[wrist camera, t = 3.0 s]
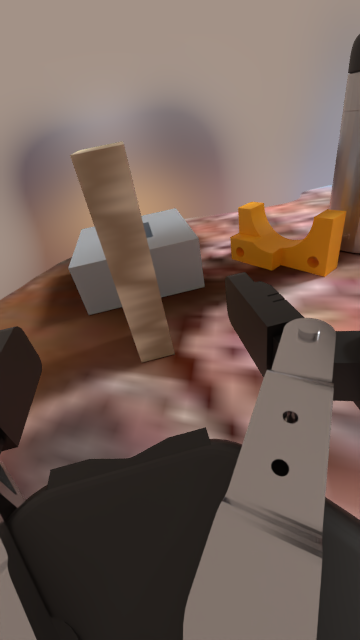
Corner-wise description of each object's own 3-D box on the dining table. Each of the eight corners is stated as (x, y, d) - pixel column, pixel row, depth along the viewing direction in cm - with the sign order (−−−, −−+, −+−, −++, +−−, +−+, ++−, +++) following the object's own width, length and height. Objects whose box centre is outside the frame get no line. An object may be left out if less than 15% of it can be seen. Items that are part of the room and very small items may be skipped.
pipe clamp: (231, 260, 38) (228, 212, 35) (252, 248, 40) (251, 201, 37) (315, 284, 30) (323, 225, 27) (336, 268, 32) (346, 211, 28)
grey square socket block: (182, 246, 45) (175, 208, 41) (204, 286, 33) (198, 238, 30) (95, 267, 44) (81, 229, 40) (88, 315, 33) (68, 268, 29)
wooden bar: (167, 325, 28) (122, 141, 19) (174, 354, 25) (123, 143, 16) (138, 333, 28) (78, 150, 19) (141, 362, 25) (70, 155, 15)
